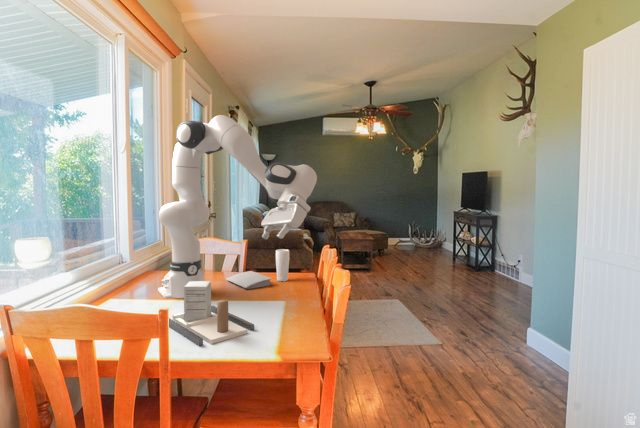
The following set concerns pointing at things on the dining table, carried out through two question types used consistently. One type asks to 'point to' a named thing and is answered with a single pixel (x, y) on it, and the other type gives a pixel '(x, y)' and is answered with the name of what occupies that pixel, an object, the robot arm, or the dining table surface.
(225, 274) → the dining table surface
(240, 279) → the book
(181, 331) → the dark grey parallel rails
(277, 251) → the white piece
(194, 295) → the supplement box
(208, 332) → the board with brown peg
